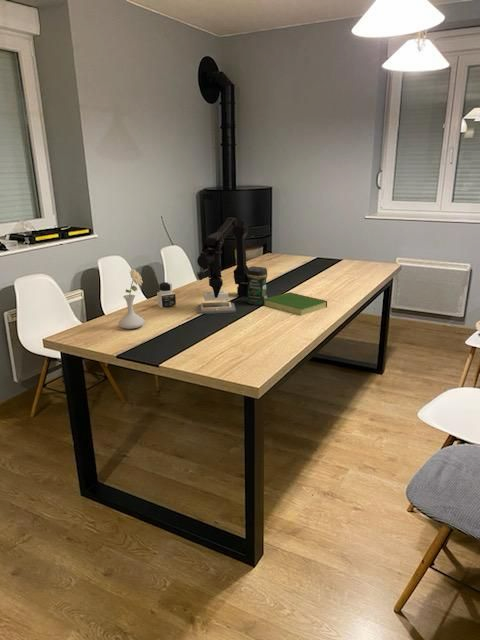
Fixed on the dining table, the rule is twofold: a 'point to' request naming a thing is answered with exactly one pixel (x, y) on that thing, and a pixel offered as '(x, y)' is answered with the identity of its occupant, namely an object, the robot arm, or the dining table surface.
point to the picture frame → (210, 296)
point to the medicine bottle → (166, 296)
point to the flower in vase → (131, 318)
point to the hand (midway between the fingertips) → (215, 295)
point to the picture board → (216, 307)
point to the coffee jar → (257, 285)
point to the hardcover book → (295, 303)
